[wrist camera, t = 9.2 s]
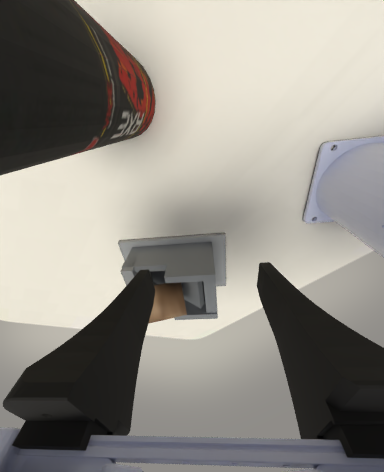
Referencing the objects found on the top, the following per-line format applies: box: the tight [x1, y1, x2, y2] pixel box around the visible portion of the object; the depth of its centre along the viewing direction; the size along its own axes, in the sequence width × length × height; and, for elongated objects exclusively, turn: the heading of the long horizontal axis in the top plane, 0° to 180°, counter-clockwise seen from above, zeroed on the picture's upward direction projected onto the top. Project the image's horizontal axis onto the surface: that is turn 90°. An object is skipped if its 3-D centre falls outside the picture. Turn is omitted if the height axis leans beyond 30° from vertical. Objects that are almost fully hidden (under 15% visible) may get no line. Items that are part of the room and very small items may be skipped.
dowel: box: [149, 282, 187, 323], centre depth 20 cm, size 4×4×6 cm
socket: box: [118, 233, 226, 320], centre depth 22 cm, size 13×8×6 cm, turn 96°
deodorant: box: [0, 0, 155, 175], centre depth 9 cm, size 6×6×15 cm
